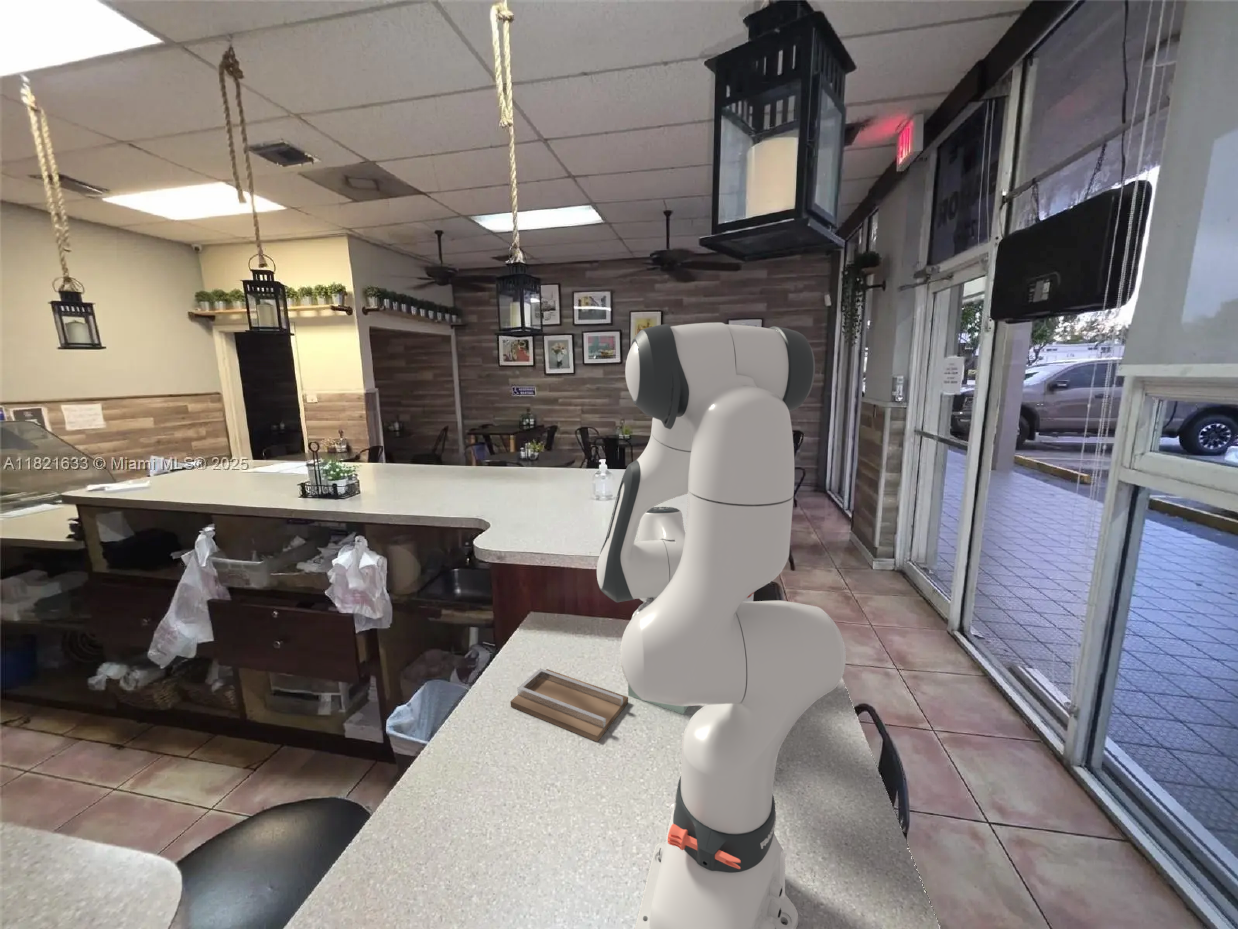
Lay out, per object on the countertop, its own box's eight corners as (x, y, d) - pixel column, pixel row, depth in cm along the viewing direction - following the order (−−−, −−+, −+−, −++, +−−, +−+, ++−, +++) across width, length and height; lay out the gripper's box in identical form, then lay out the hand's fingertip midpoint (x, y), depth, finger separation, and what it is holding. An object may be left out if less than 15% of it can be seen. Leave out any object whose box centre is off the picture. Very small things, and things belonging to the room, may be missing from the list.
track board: (597, 742, 89) (597, 736, 88) (510, 706, 98) (510, 701, 98) (628, 702, 99) (628, 697, 99) (547, 674, 108) (546, 669, 108)
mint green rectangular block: (683, 714, 96) (684, 677, 94) (628, 695, 101) (628, 660, 100) (690, 702, 99) (691, 666, 97) (636, 684, 105) (637, 650, 103)
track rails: (603, 728, 90) (603, 721, 90) (517, 694, 100) (517, 688, 99) (623, 703, 97) (622, 696, 96) (540, 674, 106) (540, 668, 106)
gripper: (652, 615, 85) (651, 685, 88) (693, 570, 103) (691, 630, 106) (620, 606, 88) (620, 675, 91) (665, 564, 106) (664, 623, 109)
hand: (659, 650), depth 99 cm, fingers open, 8 cm apart
